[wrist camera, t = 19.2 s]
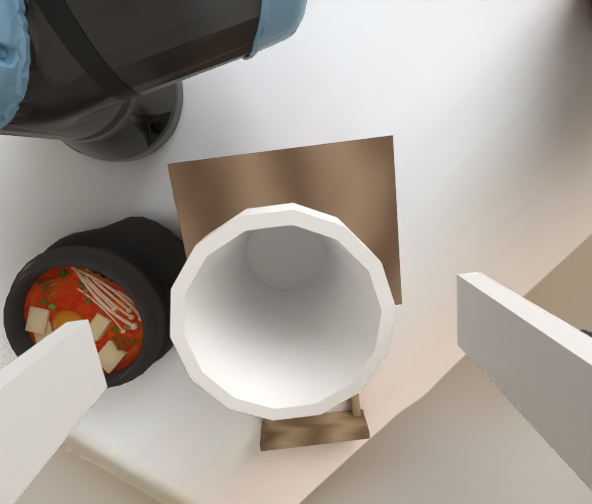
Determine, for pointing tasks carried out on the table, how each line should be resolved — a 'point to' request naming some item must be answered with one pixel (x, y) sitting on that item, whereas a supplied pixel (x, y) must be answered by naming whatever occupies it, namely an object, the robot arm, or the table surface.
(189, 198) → the cubby cabinet
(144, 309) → the casserole
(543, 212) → the table surface
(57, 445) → the robot arm
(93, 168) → the table surface
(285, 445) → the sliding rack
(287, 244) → the foam cup
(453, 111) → the table surface
